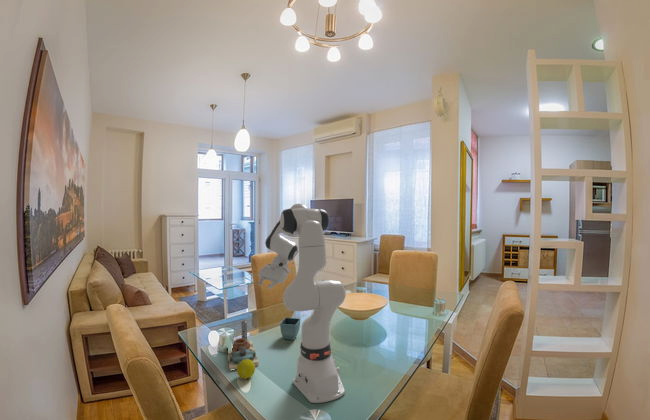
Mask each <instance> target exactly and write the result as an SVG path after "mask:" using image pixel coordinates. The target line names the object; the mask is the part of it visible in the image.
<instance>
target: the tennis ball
mask: <svg viewBox="0 0 650 420" xmlns="http://www.w3.org/2000/svg"><path fill="white" fill-rule="evenodd" d="M255 371H256V366H255V364H254V362H253V361H252V360H250V359H245V360H242V361H241V362H240V363H239V364H238V367H237V370H236V372H237V375H238V377H239V378H240V379H243V380H246V379H247V378H248V379H250V378H251V377H253V375H254V374H255ZM248 379H247V380H248Z"/></svg>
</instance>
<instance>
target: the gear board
mask: <svg viewBox="0 0 650 420" xmlns="http://www.w3.org/2000/svg"><path fill="white" fill-rule="evenodd" d="M232 344H233V348H232V352H231V353H228V355H227V362H228V361H229V363H228V367H229V368H228V370H229V369H230V370H231V369H237V367H238V364H239V363H240V362H241V361H242V360H245V359H250V360H252V361H253V362H254V364H255V367H258V366H259V360H258V357H257V354H256V350H255V346H254V344H253V341H252V340H249V341H248V338H247V339H245V338H242V337H241V338H237V339H234V340H233V343H232Z"/></svg>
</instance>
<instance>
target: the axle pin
mask: <svg viewBox="0 0 650 420" xmlns="http://www.w3.org/2000/svg"><path fill="white" fill-rule="evenodd" d="M240 326H241V338H245V339H247V340H248V320H241V325H240Z"/></svg>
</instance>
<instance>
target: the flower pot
mask: <svg viewBox="0 0 650 420" xmlns="http://www.w3.org/2000/svg"><path fill="white" fill-rule="evenodd" d="M279 326H280V332H281V333H280V334H281V336H282V338H283V339H284V340H290V341H294V340H296V339H295V338H297V336H298V333H299V331H300V327H301V318H296V317H295V318H294V317H293V318H292V317H284V318H283V319H282V320H281V322H280V323H279Z"/></svg>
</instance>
